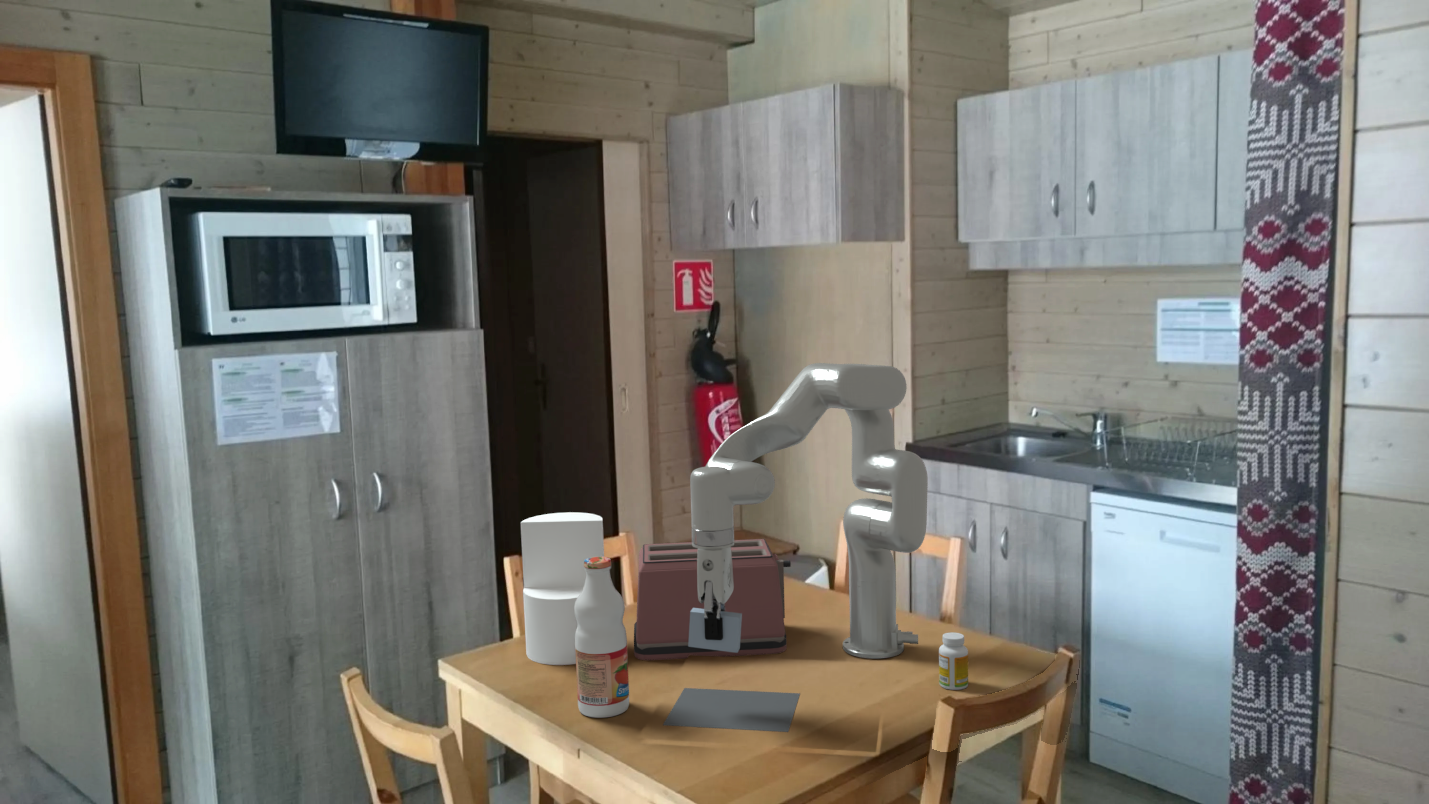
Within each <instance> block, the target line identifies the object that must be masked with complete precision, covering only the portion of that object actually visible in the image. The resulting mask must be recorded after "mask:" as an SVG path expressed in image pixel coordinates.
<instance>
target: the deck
mask: <svg viewBox="0 0 1429 804" xmlns="http://www.w3.org/2000/svg"><path fill="white" fill-rule="evenodd" d="M704 618H705V617H704V609H701V608H693V609H692V610H691V611H690V625H689V642H688V647H696V648H704V649H711V650H719V651H727V652H735V653H738V651H739V649H740V638H741V622H742V613H734V612H725V611H721V618H723V639H722V640H706V639H705V623H704Z"/></svg>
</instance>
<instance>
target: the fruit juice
mask: <svg viewBox="0 0 1429 804" xmlns="http://www.w3.org/2000/svg"><path fill="white" fill-rule="evenodd" d="M584 569H585V571H586V580H585V584H584V587H583V590H582V592H581V593H580V595H579V596H578V598H577V599H576V601H575V606H574V612H575V617H576V619H577V623H578V626H577V629H576V632H575V651H576V664H575V668H576V669H575V670H576V690H577V707H578V710H579V712H580V714H581V715H584V716H586V717H589V718H596V719H598V718H602V719H603V718H610V717H611V718H612V717H615V716H619V715H621V714H623V713H625V712H626V711H627V710H628V708H629V706H630V684H629V682H630V680H629V660H628V638H627V630H626V627H625V625H624V622H623V619H624V615H625V609H626V607H625V600H624V599H623V597H622V595H621V594H620V593H619V591H618V590H617V589H616V587H615V586H614V583H613V580H612V578H611V569H612V560H611V558H610V557H607V556H604V557H591V558H588V559H586V560H585V561H584Z"/></svg>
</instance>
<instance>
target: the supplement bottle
mask: <svg viewBox="0 0 1429 804" xmlns="http://www.w3.org/2000/svg"><path fill="white" fill-rule="evenodd" d="M942 643H943V644H941V645H940V646H939V648H938V684H939V686H940V687H942V688H944V689H945V690H951V691H959V690H964V689H966V688H967V687H968V686H969V650H968V648H967V647H966V646H965V645H964V644H965V635H964V634H962V633H960V632H945V633H943V634H942Z"/></svg>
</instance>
